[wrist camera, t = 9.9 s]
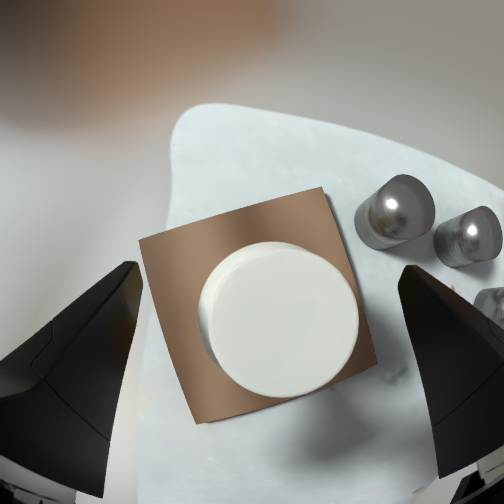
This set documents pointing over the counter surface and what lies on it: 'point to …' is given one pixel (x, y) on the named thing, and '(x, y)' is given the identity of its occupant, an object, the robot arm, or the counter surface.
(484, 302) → the standoff posts
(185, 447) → the counter surface
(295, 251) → the supplement bottle
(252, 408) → the walnut board
